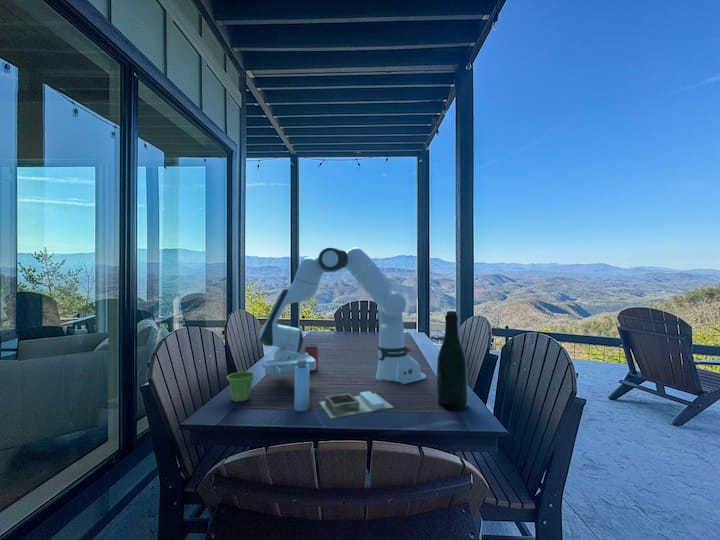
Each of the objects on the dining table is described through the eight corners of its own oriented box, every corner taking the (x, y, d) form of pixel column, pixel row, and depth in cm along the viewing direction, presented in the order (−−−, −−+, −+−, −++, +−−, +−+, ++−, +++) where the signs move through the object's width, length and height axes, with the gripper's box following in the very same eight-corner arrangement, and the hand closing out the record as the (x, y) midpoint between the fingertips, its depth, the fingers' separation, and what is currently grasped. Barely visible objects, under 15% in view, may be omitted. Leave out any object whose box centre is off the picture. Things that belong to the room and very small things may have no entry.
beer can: (315, 372, 150) (315, 347, 151) (302, 371, 152) (302, 346, 152) (319, 368, 157) (319, 344, 157) (307, 367, 158) (307, 343, 159)
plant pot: (238, 406, 111) (238, 380, 111) (221, 400, 116) (221, 376, 116) (259, 397, 119) (259, 374, 119) (242, 392, 124) (243, 370, 124)
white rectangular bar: (369, 395, 118) (369, 391, 118) (384, 407, 107) (384, 402, 107) (359, 396, 117) (359, 392, 117) (373, 409, 105) (373, 404, 106)
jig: (375, 396, 120) (375, 386, 120) (393, 410, 107) (393, 399, 107) (318, 405, 112) (318, 394, 112) (331, 422, 99) (331, 410, 99)
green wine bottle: (446, 397, 119) (446, 308, 120) (473, 405, 112) (472, 311, 112) (430, 405, 112) (430, 310, 113) (458, 414, 104) (457, 313, 105)
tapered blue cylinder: (307, 404, 113) (307, 358, 113) (310, 409, 108) (311, 362, 108) (293, 406, 111) (293, 360, 111) (296, 412, 106) (296, 363, 106)
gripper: (261, 356, 130) (265, 364, 117) (311, 352, 137) (319, 360, 125) (261, 371, 129) (265, 382, 117) (311, 367, 137) (319, 376, 125)
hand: (294, 370), depth 121 cm, fingers open, 8 cm apart
